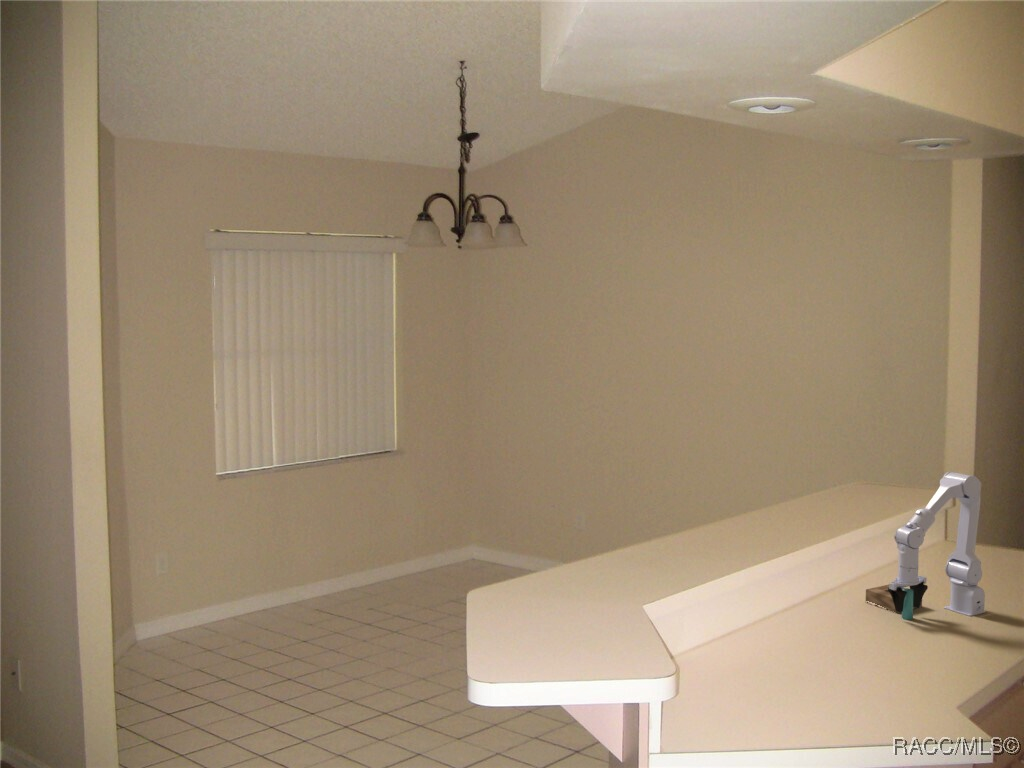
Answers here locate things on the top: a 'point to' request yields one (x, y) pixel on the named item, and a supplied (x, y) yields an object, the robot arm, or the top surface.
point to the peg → (908, 605)
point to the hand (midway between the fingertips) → (907, 609)
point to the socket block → (882, 597)
